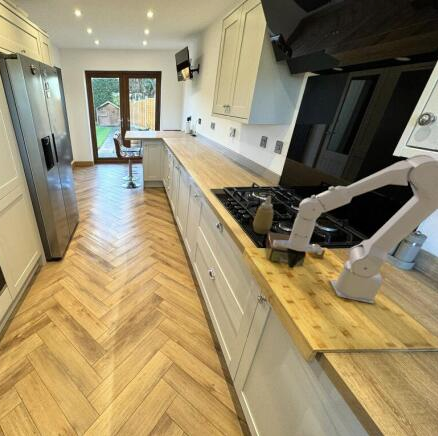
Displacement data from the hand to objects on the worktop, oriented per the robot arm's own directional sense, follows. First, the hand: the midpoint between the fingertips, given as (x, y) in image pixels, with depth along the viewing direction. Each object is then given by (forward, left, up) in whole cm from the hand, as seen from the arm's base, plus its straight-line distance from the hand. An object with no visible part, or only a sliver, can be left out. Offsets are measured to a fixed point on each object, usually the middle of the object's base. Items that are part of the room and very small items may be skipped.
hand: (290, 266), depth 84 cm
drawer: (0, -9, -2) cm, 10 cm away
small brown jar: (-13, -18, -3) cm, 22 cm away
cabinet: (0, -13, -3) cm, 13 cm away
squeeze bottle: (+7, -30, -3) cm, 31 cm away
